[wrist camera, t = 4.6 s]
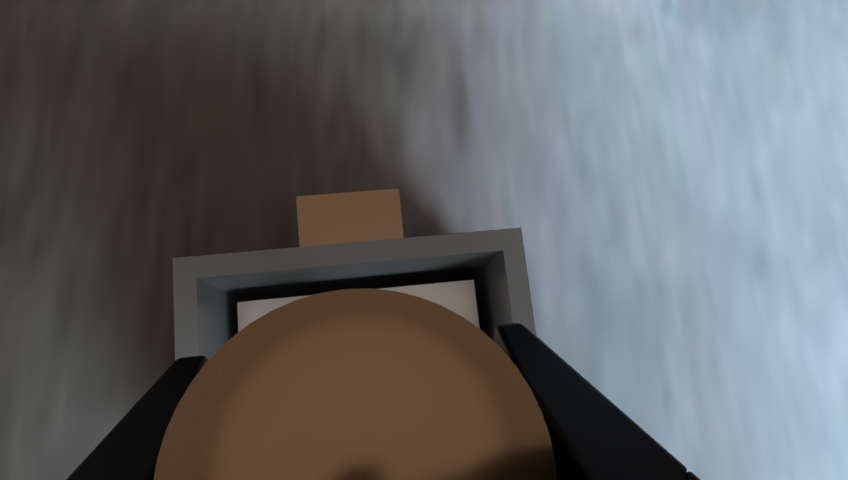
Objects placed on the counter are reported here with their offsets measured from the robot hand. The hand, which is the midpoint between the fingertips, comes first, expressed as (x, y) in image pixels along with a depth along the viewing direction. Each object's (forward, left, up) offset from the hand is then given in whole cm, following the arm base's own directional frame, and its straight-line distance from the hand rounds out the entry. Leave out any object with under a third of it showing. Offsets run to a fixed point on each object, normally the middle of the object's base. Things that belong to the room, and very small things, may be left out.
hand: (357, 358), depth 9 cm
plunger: (-1, -1, -6) cm, 7 cm away
